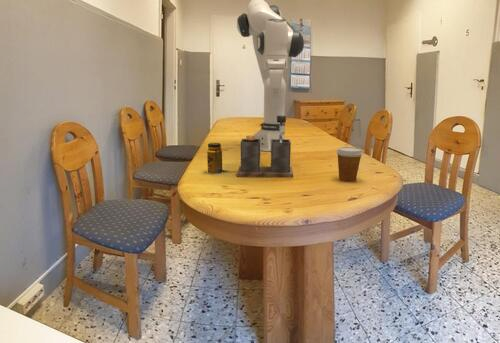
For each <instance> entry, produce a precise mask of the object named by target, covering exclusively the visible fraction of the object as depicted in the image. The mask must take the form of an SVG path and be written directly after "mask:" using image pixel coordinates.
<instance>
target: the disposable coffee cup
mask: <svg viewBox="0 0 500 343" xmlns="http://www.w3.org/2000/svg"><path fill="white" fill-rule="evenodd" d="M336 154H337V163H338V164H337V165H338V166H337V167H338V179H339V181H341V182H349V183H350V182H351V183H353V182H355V181H357V177H358V171H359V166H360V162H361V158H362V155H363V152H362V149H361V148H359V147H354V146H353V147H352V146H340V147H338V148H337V151H336Z"/></svg>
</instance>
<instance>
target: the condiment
mask: <svg viewBox="0 0 500 343" xmlns="http://www.w3.org/2000/svg"><path fill="white" fill-rule="evenodd" d="M206 155H207V157H206V159H207V171H208V173H207V174H209V173H211V174H210V175H215V176H216V175H220V174H224V173H228V172H229V170H228V169H223V150H222V144H221V143H220V142H210V143H208V144H207V151H206ZM222 172H223V173H222Z"/></svg>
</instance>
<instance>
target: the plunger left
mask: <svg viewBox="0 0 500 343" xmlns="http://www.w3.org/2000/svg"><path fill="white" fill-rule="evenodd" d="M245 139H246V142H255V136H253V135H246V137H245Z"/></svg>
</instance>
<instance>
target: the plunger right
mask: <svg viewBox="0 0 500 343" xmlns="http://www.w3.org/2000/svg"><path fill="white" fill-rule="evenodd" d="M277 122H279V123H280V131H279V142H282V133H283V123H285V124H286V122H287V115H284V116H282V115H280V116H277Z"/></svg>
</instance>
